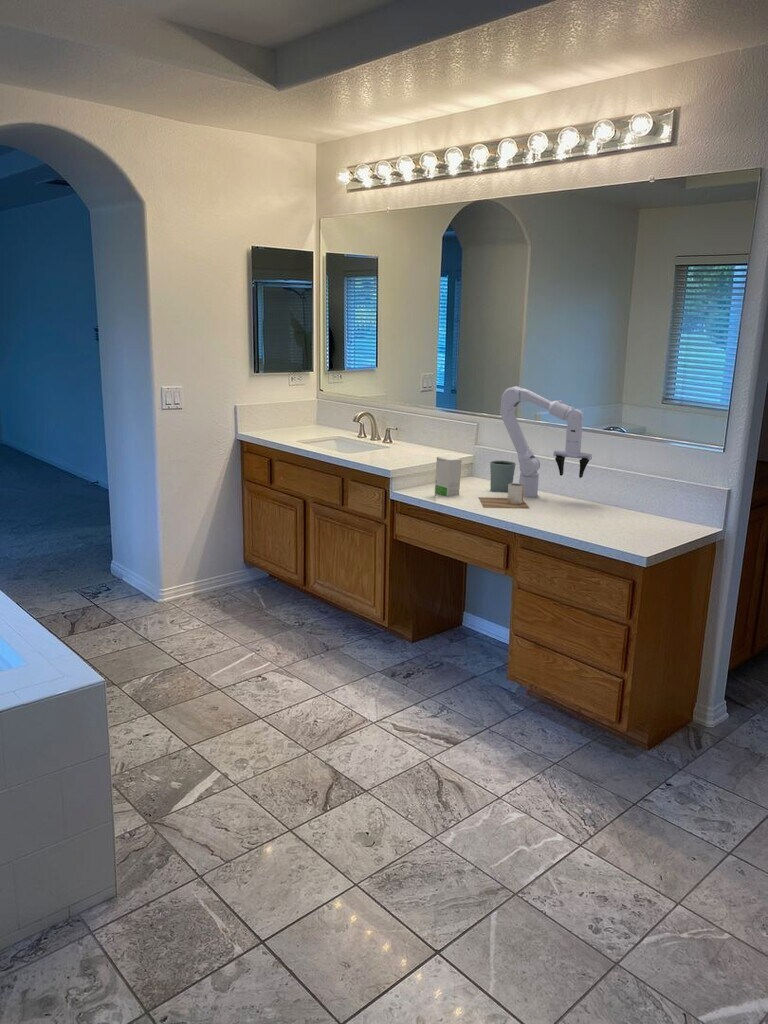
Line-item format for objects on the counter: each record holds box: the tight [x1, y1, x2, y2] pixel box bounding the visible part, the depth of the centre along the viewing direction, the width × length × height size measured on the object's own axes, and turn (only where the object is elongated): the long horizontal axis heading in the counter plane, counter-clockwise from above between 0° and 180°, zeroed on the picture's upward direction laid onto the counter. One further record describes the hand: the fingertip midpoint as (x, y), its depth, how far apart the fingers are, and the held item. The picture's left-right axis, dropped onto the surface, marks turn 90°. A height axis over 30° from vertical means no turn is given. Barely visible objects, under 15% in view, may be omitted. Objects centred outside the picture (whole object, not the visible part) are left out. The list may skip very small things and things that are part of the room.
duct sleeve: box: [507, 482, 524, 505], centre depth 303 cm, size 6×6×7 cm
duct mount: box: [478, 496, 531, 510], centre depth 303 cm, size 18×17×5 cm
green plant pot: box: [489, 460, 516, 493], centre depth 327 cm, size 10×10×12 cm
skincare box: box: [434, 455, 463, 497], centre depth 316 cm, size 8×7×16 cm
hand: (571, 476), depth 310 cm, fingers open, 7 cm apart
